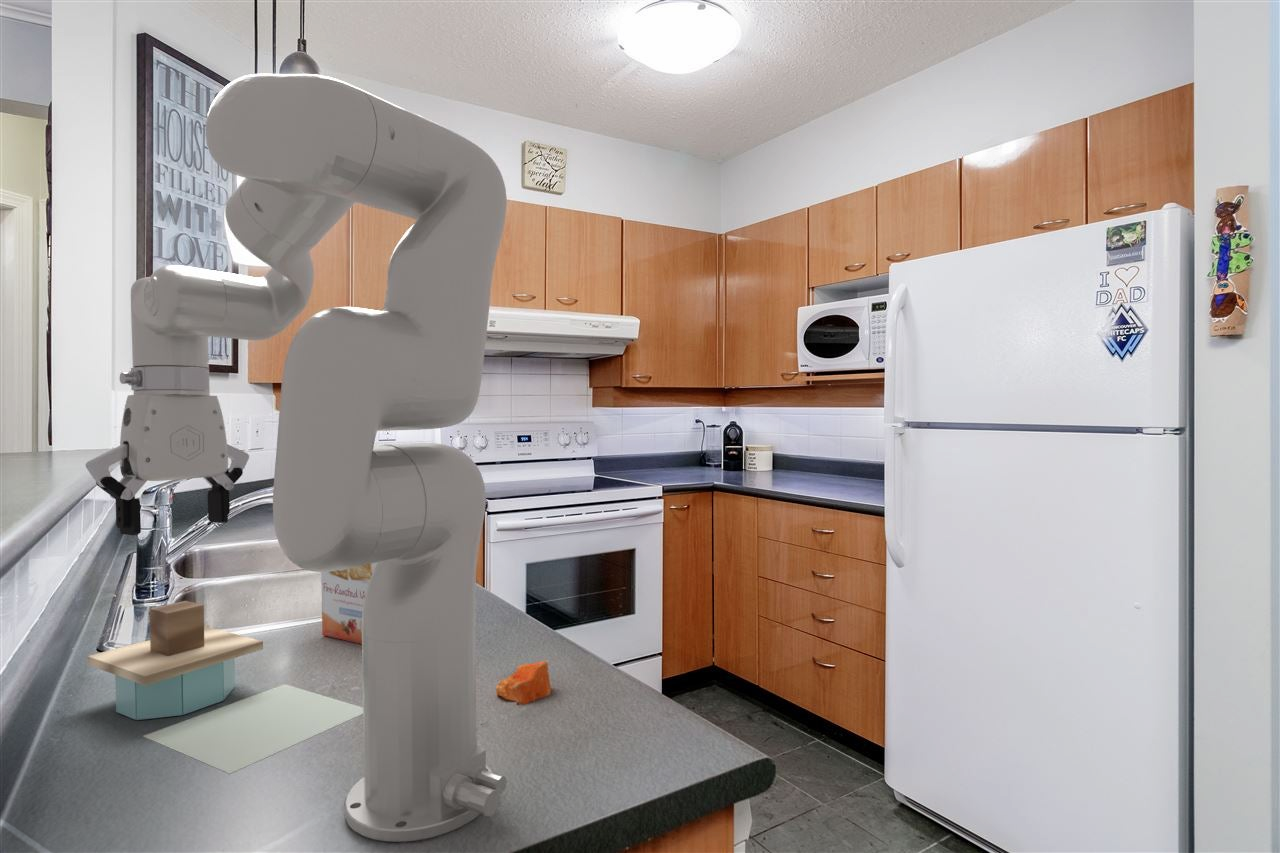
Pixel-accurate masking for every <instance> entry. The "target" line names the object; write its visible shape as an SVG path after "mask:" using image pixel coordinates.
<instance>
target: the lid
mask: <svg viewBox="0 0 1280 853" xmlns="http://www.w3.org/2000/svg"><path fill="white" fill-rule="evenodd" d="M204 608H205V606H204V604H201V603H197V602H193V601H189V600H183V601H178V602H174V603H170V604H165V605H160V606H156V607H151V608H149V637H150V638H149V639H148V640H145V641H141V642H137V643H133V644H130V645H125V646H121V647H117V648H114V649H109V650H105V651H102V652H98V653H94V654H90V655H87V658H86V659H87V665H88V666H90V667H92V668H96V669H99V670H100V671H101V670H102V671H104V672H106V673H109V674H112V675H114V676H115V675H117V676H120V677H123V678H125V679H128V680H131V681H134V682H136V683H139V684H142V685H145V686H146V685H149V684H152V683H155V682H159V681H162V680H165V679H168V678H171V677H175V676H178V675H181V674H184V673H188V672H191V671H194V670H197V669H201V668H204V667H207V666H210V665H214V664H217V663H220V662H223V661H227V660H230V659H233V658H235V659H236V658H238V657H242V656H245V655H249V654H252V653H255V652H258V651H262V650H264V641H263V640H259V639H256V638H252V637H249V636H244V635H240V634H236V633H233V632H230V631H225V630H221V629H217V628H214V627H210V626H205V613H204V612H205V609H204Z"/></svg>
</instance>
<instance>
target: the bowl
mask: <svg viewBox="0 0 1280 853" xmlns="http://www.w3.org/2000/svg"><path fill="white" fill-rule="evenodd" d="M235 659H236V658H233V659H230V660H227V661H223V662H220V663H217V664H214V665H210V666H207V667H204V668H201V669H197V670H194V671H191V672H188V673H184V674H181V675H178V676H175V677H171V678H168V679H165V680H162V681H159V682H155V683H152V684H149V685H146V686H145V685H142V684H139V683H136V682H134V681H131V680H128V679H125V678H123V677H120V676H117V675H114V678H115V681H114V682H115V712H116V713H118V714H120V715H123V716H125V717H127V718H130V719H133V720H136V721H139V720H150V719H159V718H167V717H176V716H177V717H178V716H183V715H186V714H190V713H193V712H196V711H198V710H200V709H203V708H207V707H209V706H213V705H214V704H217V703H220V702H222V701H225V700H226V698H228V696H229V694H230V693H231V692H232V691H233V689H234V688H235V687H236V667H235V665H236V664H235V663H236V662H235Z"/></svg>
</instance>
